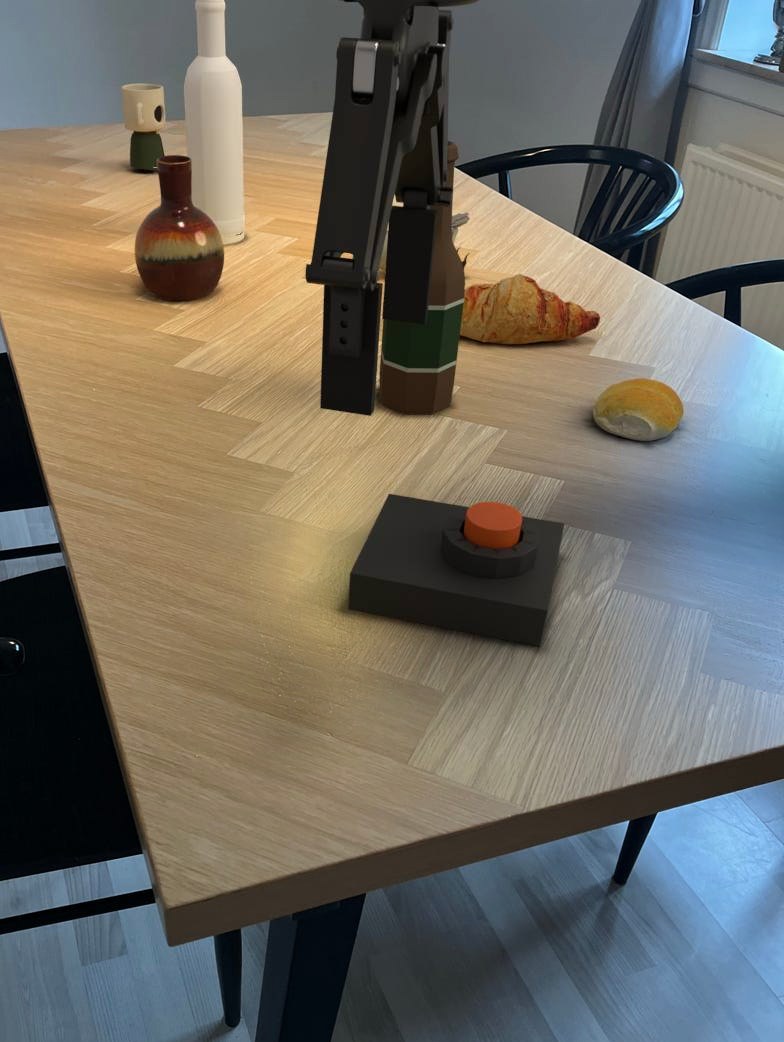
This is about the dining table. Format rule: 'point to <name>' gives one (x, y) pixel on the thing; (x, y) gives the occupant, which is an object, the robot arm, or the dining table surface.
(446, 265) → the beer bottle
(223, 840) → the dining table surface
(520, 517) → the orange button cap
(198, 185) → the bottle
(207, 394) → the dining table surface
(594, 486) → the dining table surface
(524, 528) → the push button switch
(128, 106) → the character mug
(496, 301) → the croissant
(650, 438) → the bread roll
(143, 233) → the vase
